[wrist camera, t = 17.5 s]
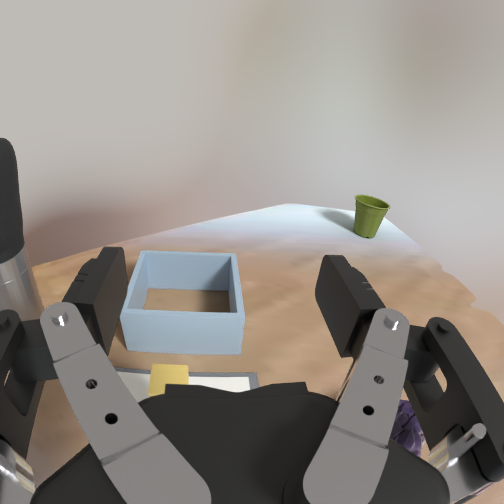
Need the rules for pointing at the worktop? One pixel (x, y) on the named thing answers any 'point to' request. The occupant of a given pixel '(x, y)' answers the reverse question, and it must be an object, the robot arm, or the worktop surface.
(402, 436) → the geode
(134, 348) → the tub
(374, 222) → the plant pot
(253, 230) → the worktop surface
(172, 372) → the lid
